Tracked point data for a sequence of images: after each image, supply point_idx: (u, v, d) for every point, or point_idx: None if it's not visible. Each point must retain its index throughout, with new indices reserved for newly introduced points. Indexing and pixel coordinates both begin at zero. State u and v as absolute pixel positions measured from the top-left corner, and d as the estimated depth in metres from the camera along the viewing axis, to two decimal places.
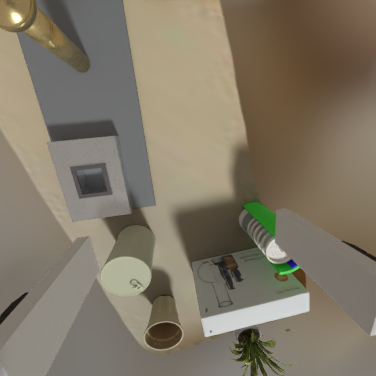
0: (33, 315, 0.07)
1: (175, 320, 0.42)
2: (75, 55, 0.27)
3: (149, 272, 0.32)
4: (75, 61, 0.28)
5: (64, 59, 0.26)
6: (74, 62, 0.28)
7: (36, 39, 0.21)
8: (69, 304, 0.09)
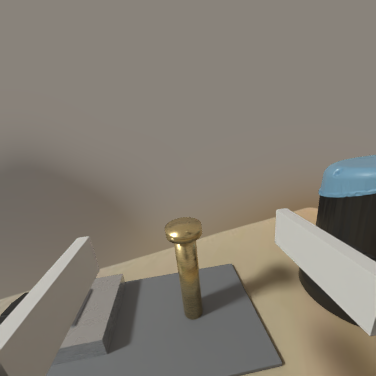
0: (33, 315, 0.07)
1: None
2: (185, 294, 0.27)
3: None
4: (182, 296, 0.27)
5: None
6: (182, 296, 0.28)
7: None
8: (69, 304, 0.09)
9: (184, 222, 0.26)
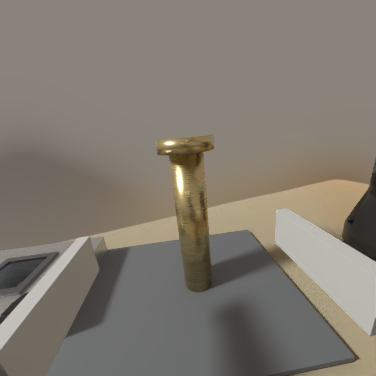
0: (33, 315, 0.07)
1: None
2: (187, 251, 0.18)
3: None
4: (183, 256, 0.18)
5: (179, 239, 0.19)
6: (182, 256, 0.18)
7: None
8: (69, 304, 0.09)
9: None
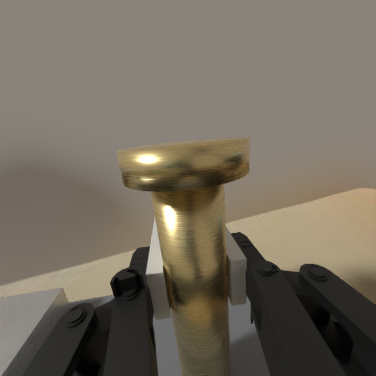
0: None
1: None
2: (188, 362, 0.09)
3: None
4: (181, 363, 0.10)
5: None
6: (180, 361, 0.10)
7: None
8: None
9: (187, 142, 0.08)
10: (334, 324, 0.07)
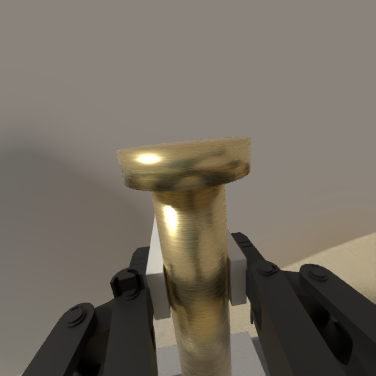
0: None
1: None
2: (189, 363, 0.09)
3: None
4: (182, 364, 0.10)
5: None
6: (180, 362, 0.10)
7: None
8: None
9: (188, 141, 0.08)
10: (334, 324, 0.07)
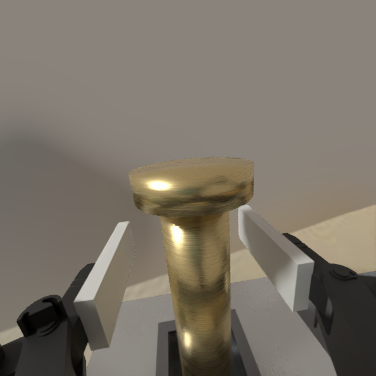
0: (106, 276, 0.08)
1: None
2: (192, 374, 0.09)
3: None
4: (184, 373, 0.10)
5: None
6: (183, 372, 0.10)
7: None
8: (122, 274, 0.10)
9: (194, 162, 0.09)
10: None
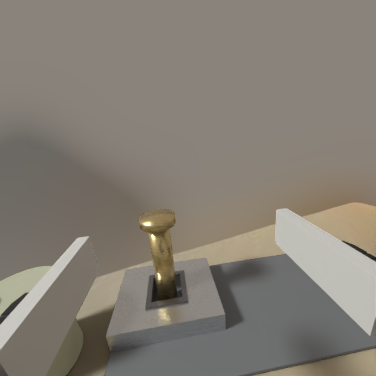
0: (33, 315, 0.07)
1: None
2: (159, 285, 0.27)
3: None
4: (157, 287, 0.28)
5: None
6: (157, 287, 0.28)
7: None
8: (69, 304, 0.09)
9: (159, 213, 0.26)
10: None
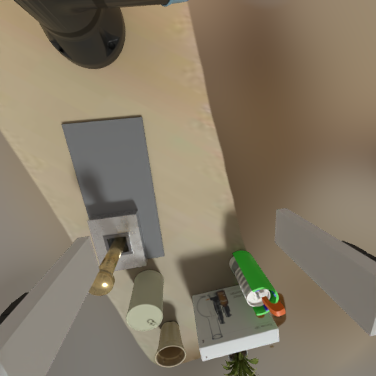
0: (33, 315, 0.07)
1: (179, 344, 0.54)
2: None
3: (161, 314, 0.44)
4: None
5: None
6: None
7: None
8: (69, 304, 0.09)
9: (93, 284, 0.33)
10: None
